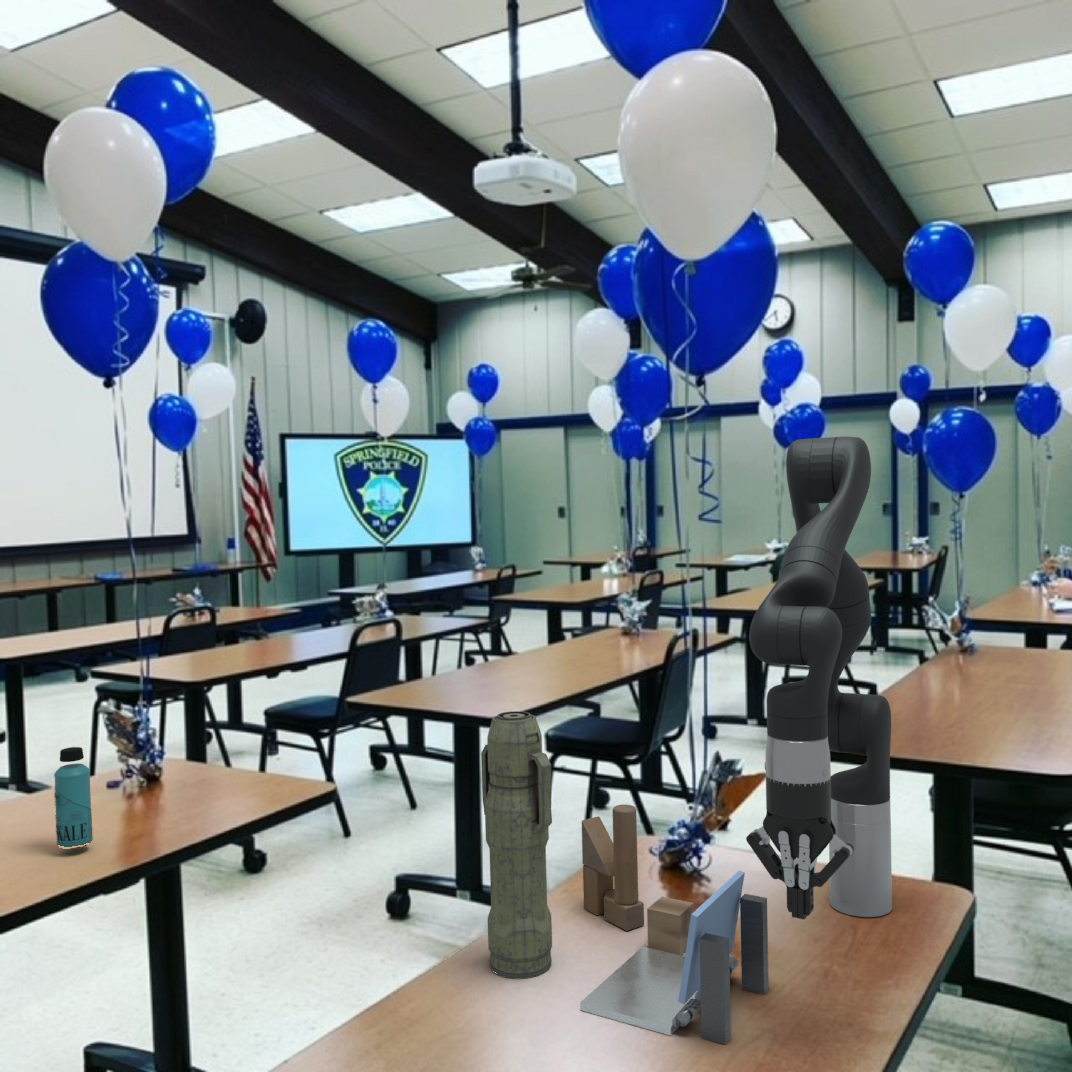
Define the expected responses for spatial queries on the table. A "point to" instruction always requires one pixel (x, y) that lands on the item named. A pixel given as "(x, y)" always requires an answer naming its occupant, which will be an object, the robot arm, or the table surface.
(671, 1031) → the base leaf
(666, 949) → the block
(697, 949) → the pale blue flat slab
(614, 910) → the wooden block
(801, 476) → the robot arm
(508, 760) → the thermos
